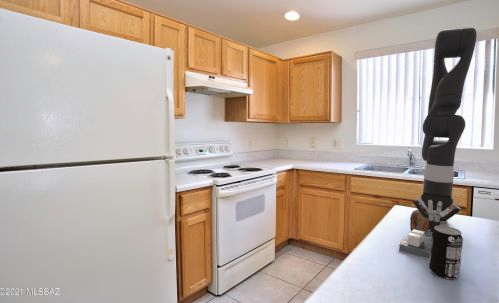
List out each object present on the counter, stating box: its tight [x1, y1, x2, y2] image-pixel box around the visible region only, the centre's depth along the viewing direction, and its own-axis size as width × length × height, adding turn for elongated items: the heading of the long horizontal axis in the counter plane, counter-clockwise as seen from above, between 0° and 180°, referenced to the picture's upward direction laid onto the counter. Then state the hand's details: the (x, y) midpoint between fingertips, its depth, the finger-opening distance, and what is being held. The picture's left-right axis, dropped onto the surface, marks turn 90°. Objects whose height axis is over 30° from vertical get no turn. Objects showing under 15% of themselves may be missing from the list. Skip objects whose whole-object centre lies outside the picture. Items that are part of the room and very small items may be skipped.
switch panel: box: [398, 232, 432, 260], centre depth 86 cm, size 13×12×2 cm
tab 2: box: [407, 232, 422, 247], centre depth 85 cm, size 2×3×3 cm
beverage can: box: [428, 225, 464, 280], centre depth 72 cm, size 7×7×12 cm
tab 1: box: [411, 229, 425, 243], centre depth 88 cm, size 2×3×3 cm
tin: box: [409, 207, 429, 233], centre depth 102 cm, size 15×3×8 cm, turn 129°
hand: (433, 231), depth 88 cm, fingers closed
